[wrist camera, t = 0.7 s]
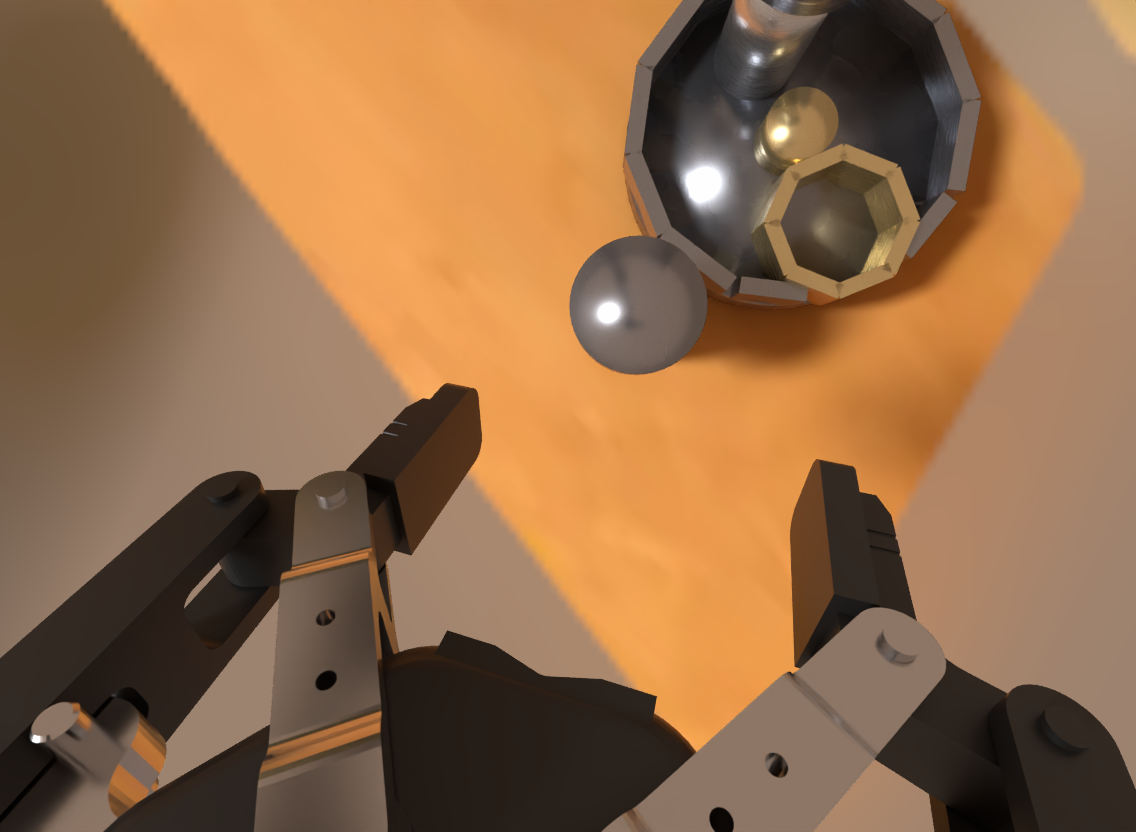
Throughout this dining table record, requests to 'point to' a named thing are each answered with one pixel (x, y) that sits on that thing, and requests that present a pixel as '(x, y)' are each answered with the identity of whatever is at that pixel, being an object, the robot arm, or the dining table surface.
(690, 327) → the silver capped cylinder
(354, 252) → the dining table surface
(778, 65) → the carrier
